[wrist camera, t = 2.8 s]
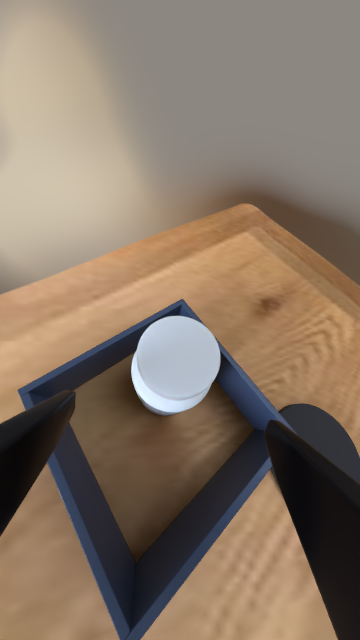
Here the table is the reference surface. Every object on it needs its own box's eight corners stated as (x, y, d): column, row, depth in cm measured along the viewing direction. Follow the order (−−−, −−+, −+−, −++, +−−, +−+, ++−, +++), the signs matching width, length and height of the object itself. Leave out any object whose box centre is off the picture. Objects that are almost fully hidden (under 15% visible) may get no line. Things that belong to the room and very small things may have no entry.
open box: (261, 430, 18) (297, 433, 14) (133, 577, 13) (126, 658, 8) (175, 322, 22) (182, 298, 18) (50, 398, 17) (16, 390, 13)
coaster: (372, 464, 18) (379, 466, 18) (328, 554, 15) (335, 558, 14) (300, 386, 21) (304, 385, 21) (248, 446, 18) (251, 447, 17)
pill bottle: (204, 388, 19) (251, 361, 11) (159, 430, 17) (173, 439, 8) (169, 345, 21) (186, 292, 12) (124, 379, 19) (105, 342, 10)
